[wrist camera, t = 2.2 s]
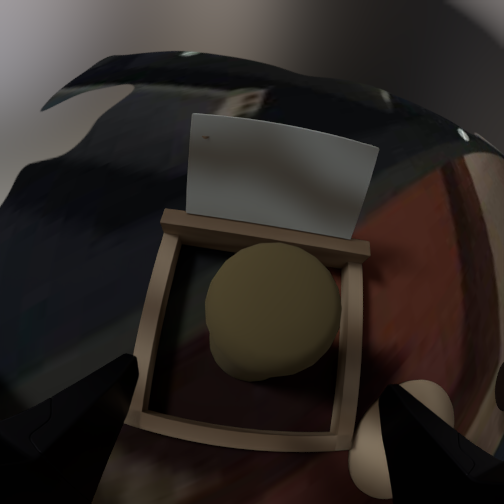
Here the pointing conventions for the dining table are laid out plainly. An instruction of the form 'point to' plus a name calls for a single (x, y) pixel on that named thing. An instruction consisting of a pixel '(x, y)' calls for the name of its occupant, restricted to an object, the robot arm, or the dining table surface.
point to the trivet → (371, 444)
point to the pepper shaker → (271, 312)
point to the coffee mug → (500, 388)
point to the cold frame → (265, 231)
